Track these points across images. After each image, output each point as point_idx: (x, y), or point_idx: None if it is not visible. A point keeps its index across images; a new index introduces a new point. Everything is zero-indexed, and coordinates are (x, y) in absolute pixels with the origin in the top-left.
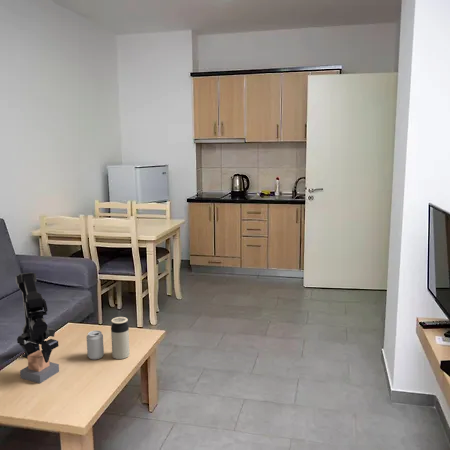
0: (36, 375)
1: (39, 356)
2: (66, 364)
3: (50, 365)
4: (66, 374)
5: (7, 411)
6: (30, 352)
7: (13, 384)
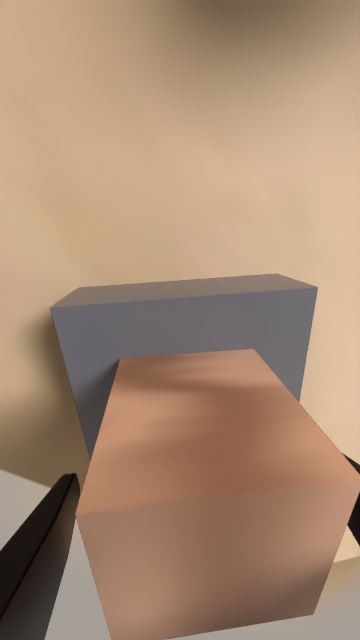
0: None
1: (292, 587)
2: (256, 137)
3: (259, 343)
4: (352, 280)
5: None
6: (37, 602)
7: None
